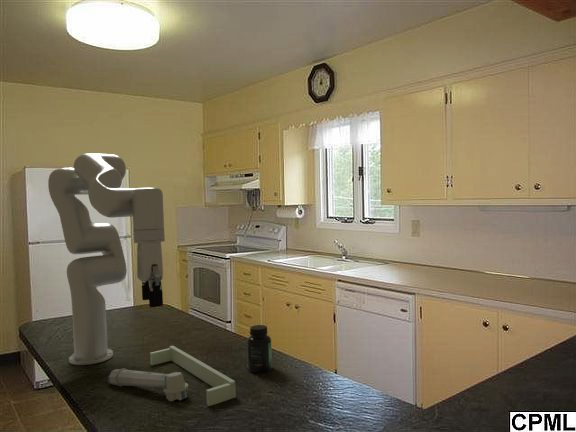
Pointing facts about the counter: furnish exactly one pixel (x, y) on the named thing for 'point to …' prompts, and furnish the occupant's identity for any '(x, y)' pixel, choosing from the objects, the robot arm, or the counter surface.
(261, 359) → the supplement bottle
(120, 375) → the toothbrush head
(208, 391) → the bracket
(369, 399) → the counter surface
